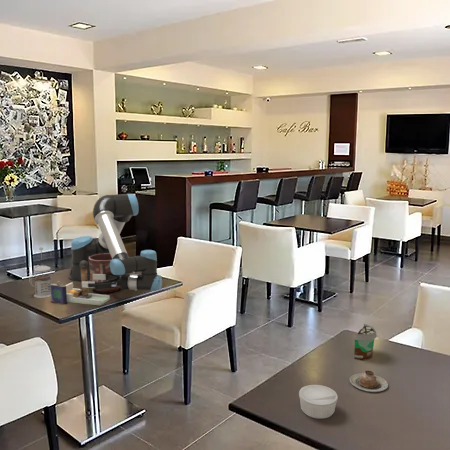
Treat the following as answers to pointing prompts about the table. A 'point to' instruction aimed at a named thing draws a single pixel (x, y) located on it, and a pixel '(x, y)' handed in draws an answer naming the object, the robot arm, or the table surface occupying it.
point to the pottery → (101, 269)
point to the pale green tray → (94, 300)
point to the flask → (58, 293)
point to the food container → (364, 343)
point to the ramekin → (318, 401)
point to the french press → (45, 280)
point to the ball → (72, 291)
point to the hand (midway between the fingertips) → (87, 280)
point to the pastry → (368, 381)
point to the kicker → (84, 291)
